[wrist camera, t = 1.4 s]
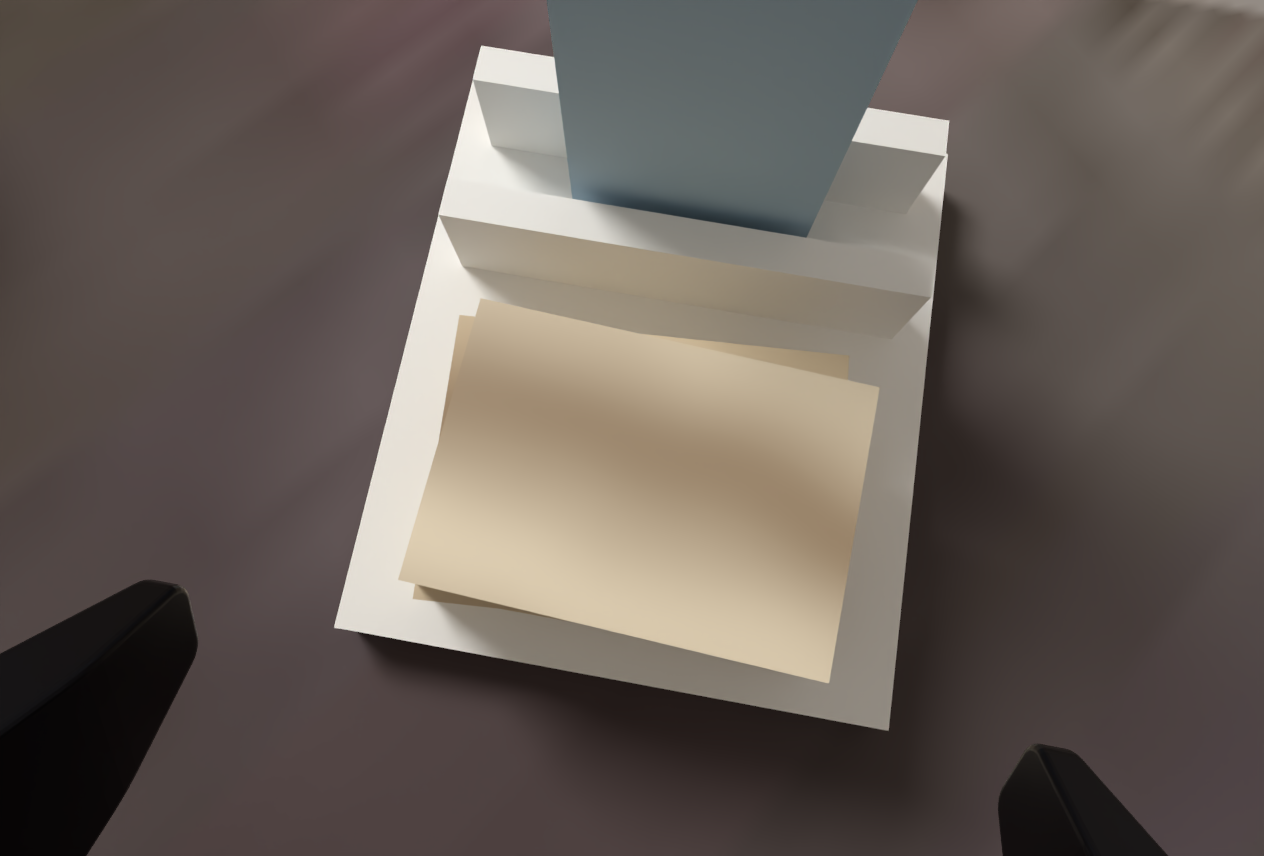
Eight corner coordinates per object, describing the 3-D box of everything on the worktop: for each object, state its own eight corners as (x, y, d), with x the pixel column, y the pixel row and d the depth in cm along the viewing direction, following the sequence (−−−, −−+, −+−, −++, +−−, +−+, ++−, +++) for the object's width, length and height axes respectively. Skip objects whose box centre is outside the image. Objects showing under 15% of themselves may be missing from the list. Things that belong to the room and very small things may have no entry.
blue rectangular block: (789, 274, 23) (956, -84, 11) (577, 238, 23) (527, -149, 12) (798, 209, 23) (969, -199, 12) (591, 174, 24) (556, -260, 12)
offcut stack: (804, 673, 21) (852, 687, 16) (424, 603, 21) (370, 598, 17) (839, 393, 22) (892, 338, 18) (486, 332, 23) (452, 263, 18)
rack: (871, 723, 22) (932, 749, 17) (353, 627, 22) (286, 628, 18) (929, 181, 25) (992, 89, 21) (482, 108, 26) (452, 3, 21)
